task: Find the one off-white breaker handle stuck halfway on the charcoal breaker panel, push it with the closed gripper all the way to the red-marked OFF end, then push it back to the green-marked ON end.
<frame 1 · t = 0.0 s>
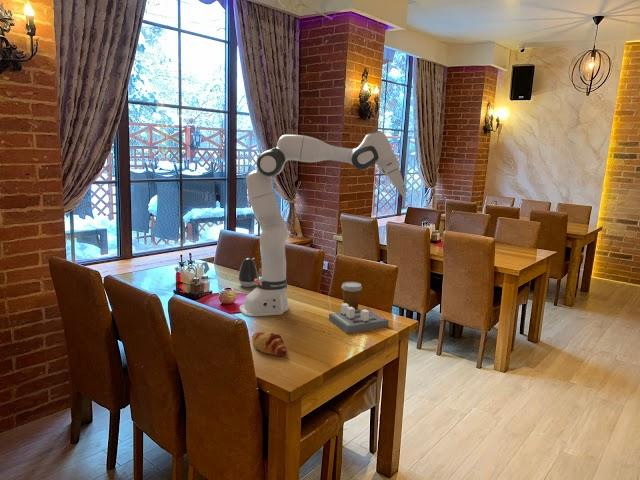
hand: (402, 194, 207), 54 cm above the table, tool tilted 30°, fingers open, 8 cm apart
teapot: (192, 279, 262), on the table
croissant: (269, 349, 177), on the table
breaker front: (364, 315, 199), point 5 cm above the table, slide at 4.0 cm
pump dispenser: (248, 286, 254), on the table
breaker panel: (358, 323, 205), on the table
breaker back: (344, 308, 206), point 5 cm above the table, slide at 0.0 cm
breaker middle: (350, 312, 202), point 5 cm above the table, slide at 0.0 cm
disposable coffee cup: (350, 309, 222), on the table
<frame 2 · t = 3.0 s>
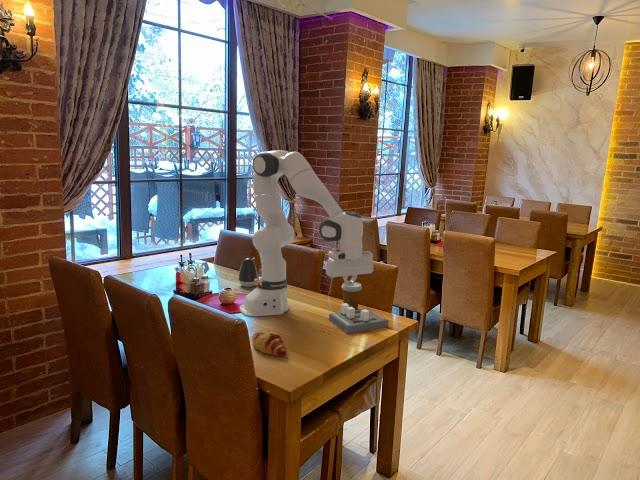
hand: (349, 285, 193), 19 cm above the table, tool pointing down, fingers closed
nothing on the table moved.
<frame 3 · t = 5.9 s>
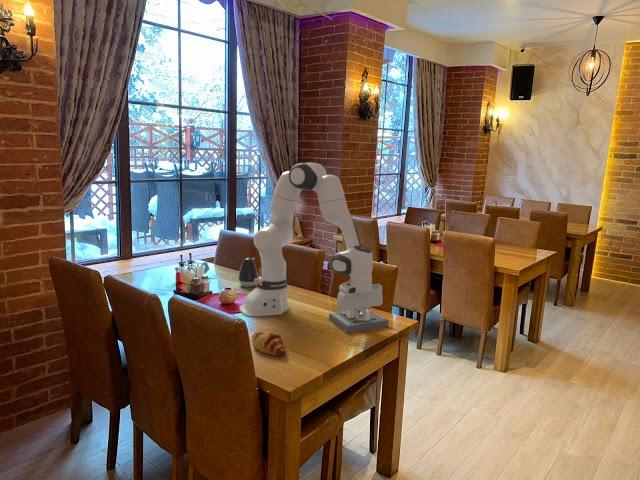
hand: (359, 317, 198), 5 cm above the table, tool pointing down, fingers closed
breaker front: (365, 315, 199), point 5 cm above the table, slide at 4.5 cm, touching gripper
everything else where it was.
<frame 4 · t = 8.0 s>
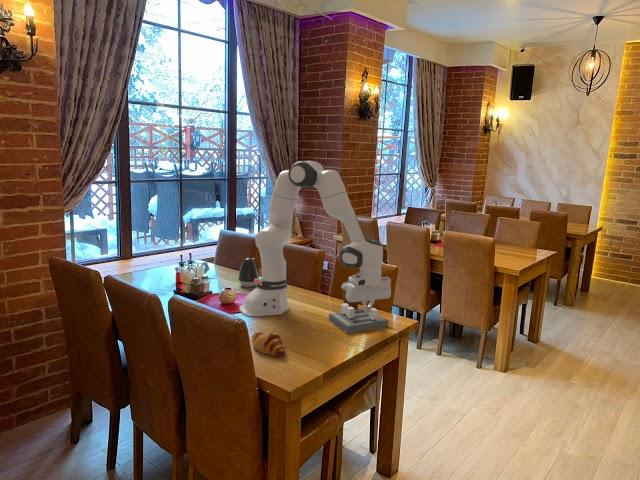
hand: (367, 309, 200), 7 cm above the table, tool pointing down, fingers closed
breaker front: (373, 313, 201), point 5 cm above the table, slide at 8.1 cm
everything else where it was.
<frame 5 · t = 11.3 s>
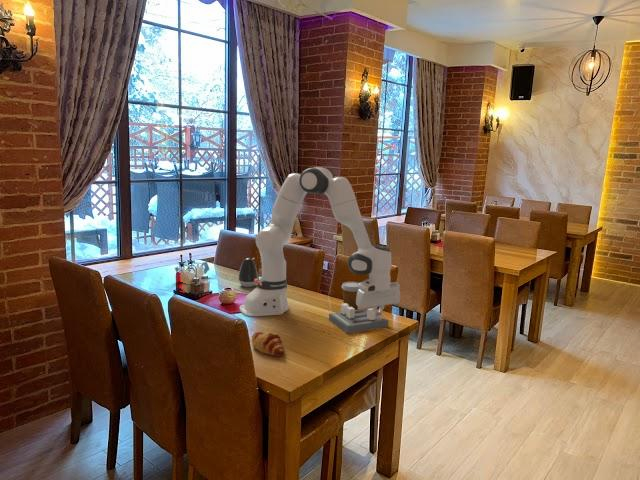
hand: (377, 315, 202), 4 cm above the table, tool pointing down, fingers closed
breaker front: (371, 314, 200), point 5 cm above the table, slide at 7.2 cm, touching gripper
everything else where it was.
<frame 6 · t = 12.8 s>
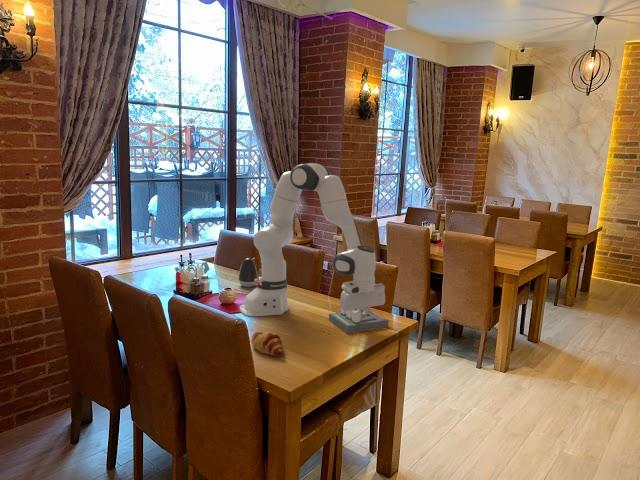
hand: (362, 317, 199), 5 cm above the table, tool pointing down, fingers closed
breaker front: (356, 316, 197), point 5 cm above the table, slide at -0.1 cm, touching gripper
everything else where it was.
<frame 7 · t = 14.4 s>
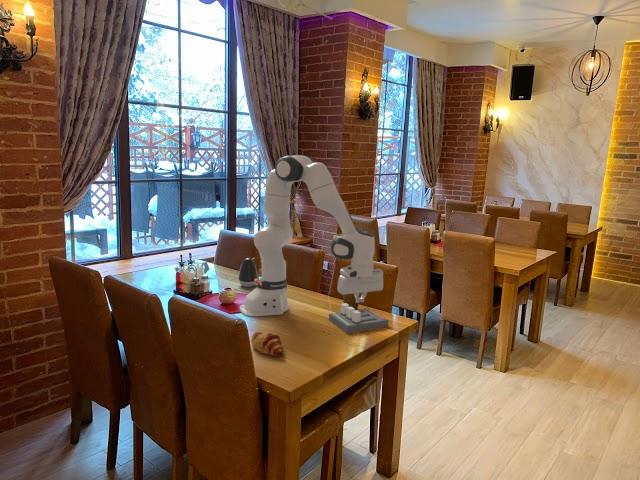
hand: (359, 302, 197), 11 cm above the table, tool pointing down, fingers closed
breaker front: (356, 316, 197), point 5 cm above the table, slide at -0.1 cm
everything else where it was.
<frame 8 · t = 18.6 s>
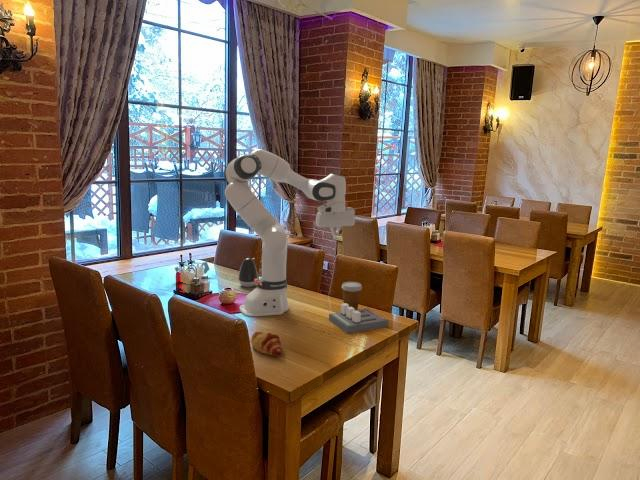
hand: (335, 235, 234), 31 cm above the table, tool pointing down, fingers closed
nothing on the table moved.
at the end: breaker front slide at -0.1 cm; breaker middle slide at 0.0 cm; breaker back slide at 0.0 cm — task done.
